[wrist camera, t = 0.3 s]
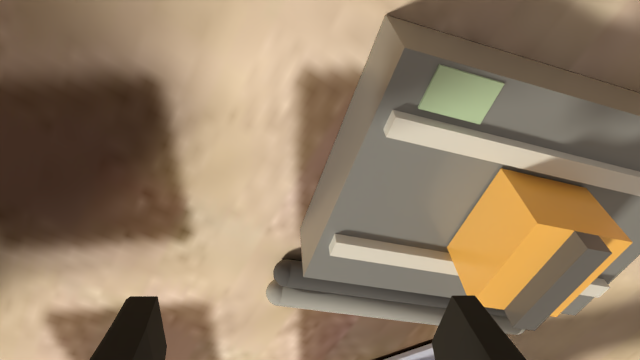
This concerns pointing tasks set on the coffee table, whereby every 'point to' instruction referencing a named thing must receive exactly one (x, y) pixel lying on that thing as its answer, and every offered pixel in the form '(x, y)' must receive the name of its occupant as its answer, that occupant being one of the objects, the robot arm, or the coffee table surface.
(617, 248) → the breaker toggle
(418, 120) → the breaker deck
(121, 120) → the coffee table surface
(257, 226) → the coffee table surface
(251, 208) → the coffee table surface
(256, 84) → the coffee table surface
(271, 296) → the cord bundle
